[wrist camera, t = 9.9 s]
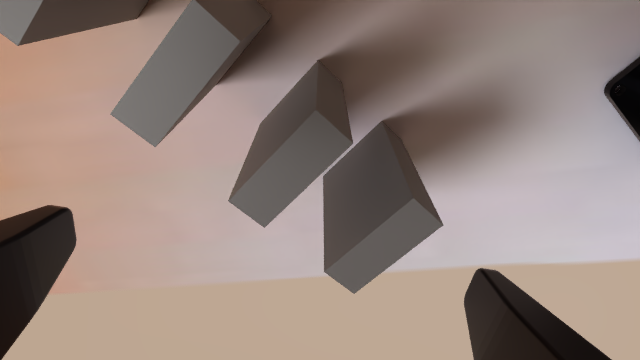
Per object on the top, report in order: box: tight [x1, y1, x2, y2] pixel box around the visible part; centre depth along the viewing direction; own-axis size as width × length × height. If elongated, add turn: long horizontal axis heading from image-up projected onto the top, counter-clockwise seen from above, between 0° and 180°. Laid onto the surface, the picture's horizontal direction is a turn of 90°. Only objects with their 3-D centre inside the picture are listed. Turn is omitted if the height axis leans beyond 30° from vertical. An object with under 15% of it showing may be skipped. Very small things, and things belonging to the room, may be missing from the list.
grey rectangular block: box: [111, 0, 272, 147], centre depth 15 cm, size 2×4×8 cm, turn 137°
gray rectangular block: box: [323, 121, 443, 293], centre depth 18 cm, size 2×4×8 cm, turn 137°
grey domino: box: [228, 60, 353, 228], centre depth 16 cm, size 2×4×8 cm, turn 137°
